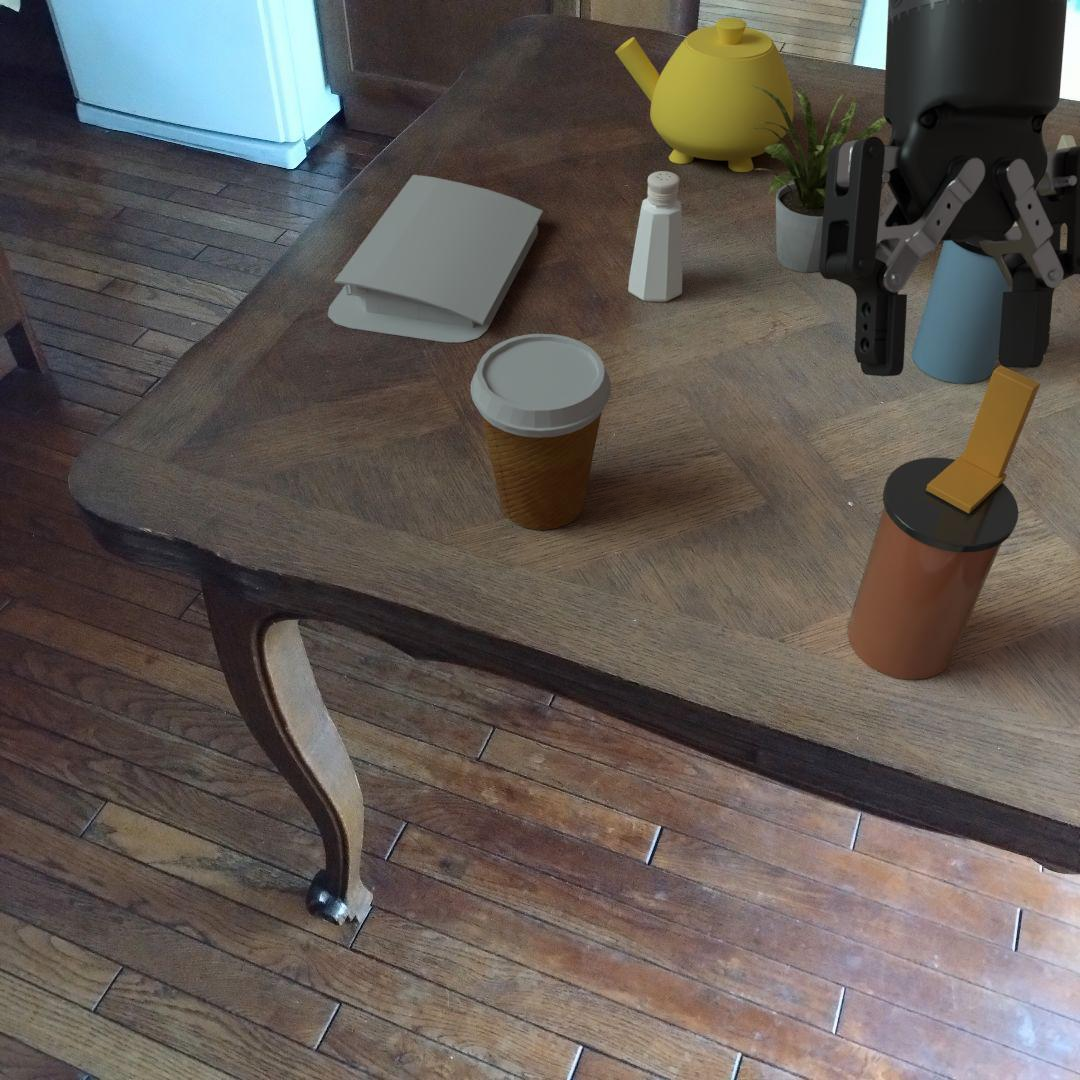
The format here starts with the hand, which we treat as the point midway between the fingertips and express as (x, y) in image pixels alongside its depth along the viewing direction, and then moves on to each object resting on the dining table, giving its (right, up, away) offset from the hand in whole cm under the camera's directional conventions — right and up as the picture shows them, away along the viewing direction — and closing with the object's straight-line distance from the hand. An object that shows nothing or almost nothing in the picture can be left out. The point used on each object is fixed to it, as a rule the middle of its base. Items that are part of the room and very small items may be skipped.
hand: (953, 371), depth 51 cm
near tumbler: (+4, -15, +18) cm, 24 cm away
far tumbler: (+15, +7, +40) cm, 43 cm away
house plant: (+4, +19, +52) cm, 56 cm away
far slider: (+17, +16, +31) cm, 38 cm away
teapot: (-2, +36, +69) cm, 78 cm away
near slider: (+5, -5, +10) cm, 12 cm away
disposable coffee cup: (-20, -5, +28) cm, 35 cm away
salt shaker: (-9, +15, +48) cm, 52 cm away
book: (-30, +18, +51) cm, 62 cm away
